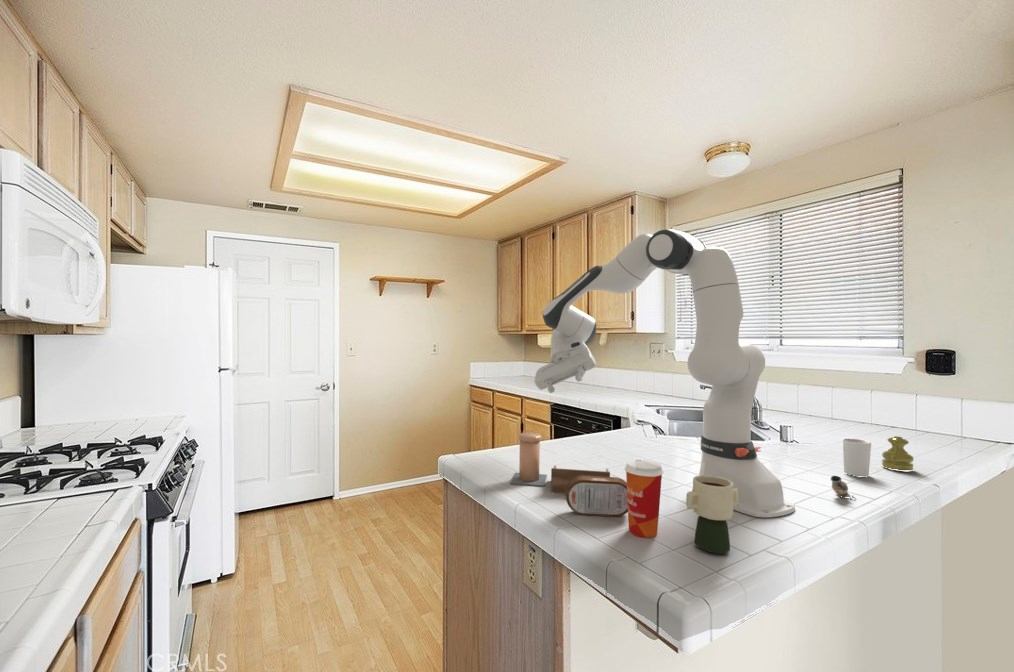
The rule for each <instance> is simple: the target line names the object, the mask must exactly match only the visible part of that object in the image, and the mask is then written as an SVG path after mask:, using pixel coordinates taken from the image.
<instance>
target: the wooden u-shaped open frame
mask: <svg viewBox="0 0 1014 672" xmlns="http://www.w3.org/2000/svg"><path fill="white" fill-rule="evenodd" d="M550 470H551V471H550V472H551V473H550V474H551V475H550V476H551V477H550V493H555V494H556V493H557V494H565V489H566V486H567V484H568V483H569V481H570V480H572V479H573V478H575V477H577V476H582V475H584V476H600V477H611V471H609V468H605V470H604V471H603V470H602V471H601V470H587V469H575V468H574V469H572V468H570V469H569V468H558V467H557V465H553V467H551V469H550Z"/></svg>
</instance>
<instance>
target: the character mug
mask: <svg viewBox="0 0 1014 672" xmlns="http://www.w3.org/2000/svg"><path fill="white" fill-rule="evenodd" d="M685 503H686V508H687V509H688V510H693V512H694V513H695V514H697V515H698V517H697V521H696V528H695V534H694V540H693V541H694V545H695V546H697V547H699V548H701V549H702V550H704V551H707V552H710V553H714V554H727V553H728V552H730V551H731V542H730V534H729V526H728V525H729V524H728V522H727V521H728V520H731V519H732V518H733V516H734V510H733V506H736V505H738V490H737V489H735V488H734V487H733V482H731V481H730V480H727V479H725V478H721V477H717V476H709V475H700V476H699V475H696V476H694V477H693V478H692V490H691V491H687V492H686V502H685Z"/></svg>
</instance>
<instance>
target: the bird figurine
mask: <svg viewBox="0 0 1014 672" xmlns="http://www.w3.org/2000/svg"><path fill="white" fill-rule="evenodd" d="M830 482H831V489H832V490H833V493H834V494H835V495H836V496H838V495H839V496H838V497H840V496H842V497H841V498H843V497H850V498H851V497H852V498H853V499H856V497H855V496H854V495H851V494H849V492H848V491H849V487H848V485H847V483H846V482H845V481H843V480H842V477H841V476H839V475H832V476H831V477H830Z"/></svg>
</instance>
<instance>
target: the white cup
mask: <svg viewBox="0 0 1014 672" xmlns="http://www.w3.org/2000/svg"><path fill="white" fill-rule="evenodd" d="M871 451H872V441H869V440H865V439H864V438H863V439H862V438H855V437H844V438H842V454H843V455H842V456H843V457H842V459H843V473H844V472H845V473H847V474H850V475H855V476H868V475H869V476H870V466H871V465H870V464H871V463H870V462H871V461H870V460H871ZM845 473H844V474H845ZM847 474H846V475H847ZM850 475H849V476H850Z"/></svg>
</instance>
